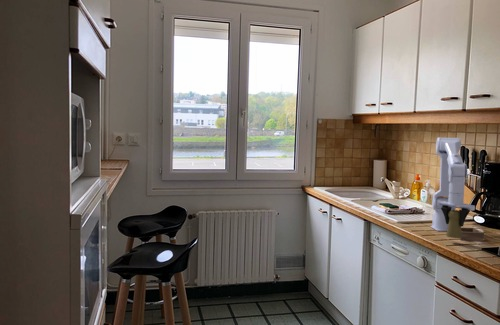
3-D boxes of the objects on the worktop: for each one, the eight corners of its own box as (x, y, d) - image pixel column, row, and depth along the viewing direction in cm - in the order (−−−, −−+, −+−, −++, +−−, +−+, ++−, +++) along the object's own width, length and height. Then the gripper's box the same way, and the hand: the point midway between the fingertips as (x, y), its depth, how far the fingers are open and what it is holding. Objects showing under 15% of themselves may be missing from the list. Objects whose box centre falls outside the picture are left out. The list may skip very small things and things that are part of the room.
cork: (458, 235, 182) (459, 209, 182) (464, 238, 176) (466, 211, 176) (443, 234, 182) (444, 209, 182) (450, 237, 176) (451, 211, 176)
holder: (451, 234, 194) (452, 227, 194) (473, 235, 194) (473, 227, 193) (460, 240, 185) (461, 232, 184) (483, 240, 184) (484, 232, 184)
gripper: (434, 191, 181) (433, 223, 182) (470, 195, 170) (468, 229, 171) (442, 190, 186) (440, 220, 187) (477, 194, 175) (475, 227, 176)
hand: (454, 224), depth 179 cm, fingers closed on cork, 5 cm apart
